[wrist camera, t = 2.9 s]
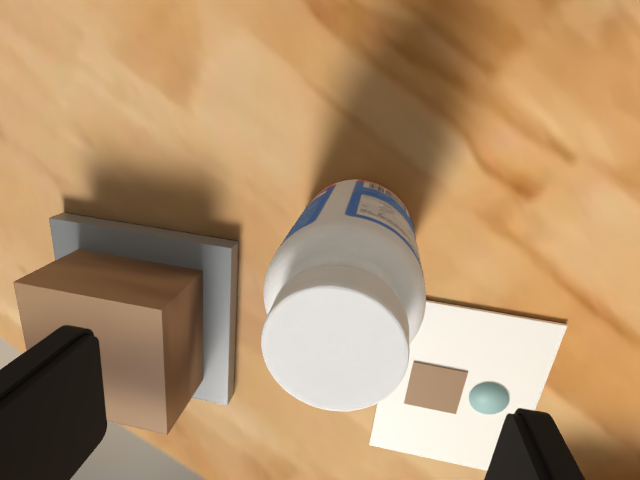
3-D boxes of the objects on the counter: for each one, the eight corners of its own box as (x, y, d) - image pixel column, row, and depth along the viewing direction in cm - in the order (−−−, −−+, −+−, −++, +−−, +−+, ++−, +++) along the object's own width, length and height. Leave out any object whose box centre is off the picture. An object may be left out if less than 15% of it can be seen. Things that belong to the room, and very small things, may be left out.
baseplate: (63, 212, 22) (49, 218, 21) (238, 241, 21) (231, 248, 20) (83, 362, 26) (72, 372, 25) (233, 393, 25) (227, 405, 24)
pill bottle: (316, 288, 21) (259, 436, 12) (291, 188, 20) (203, 275, 10) (423, 274, 20) (447, 428, 11) (406, 166, 18) (418, 243, 9)
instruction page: (398, 295, 20) (398, 298, 20) (565, 323, 20) (568, 327, 19) (369, 442, 24) (369, 446, 24) (508, 472, 23) (510, 477, 23)
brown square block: (78, 249, 22) (13, 282, 18) (202, 270, 21) (161, 310, 17) (91, 356, 24) (37, 405, 20) (203, 379, 23) (167, 434, 20)
